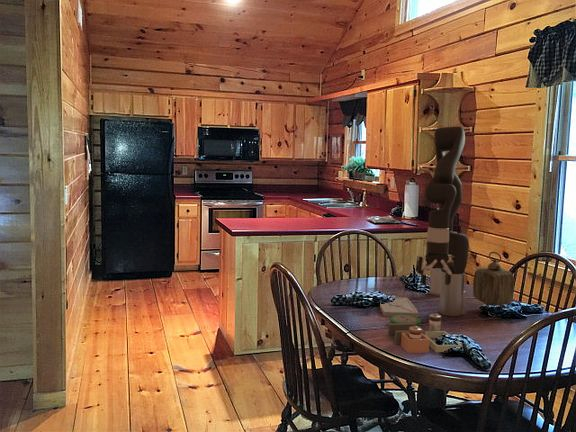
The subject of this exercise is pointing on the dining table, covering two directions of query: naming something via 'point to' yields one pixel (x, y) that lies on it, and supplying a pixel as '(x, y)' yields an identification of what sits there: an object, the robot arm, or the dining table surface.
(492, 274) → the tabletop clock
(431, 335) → the trough
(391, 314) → the envelope
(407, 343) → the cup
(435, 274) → the travel mug
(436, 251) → the robot arm
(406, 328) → the cradle
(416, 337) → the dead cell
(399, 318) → the tape roll
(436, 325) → the cell
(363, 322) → the dining table surface
